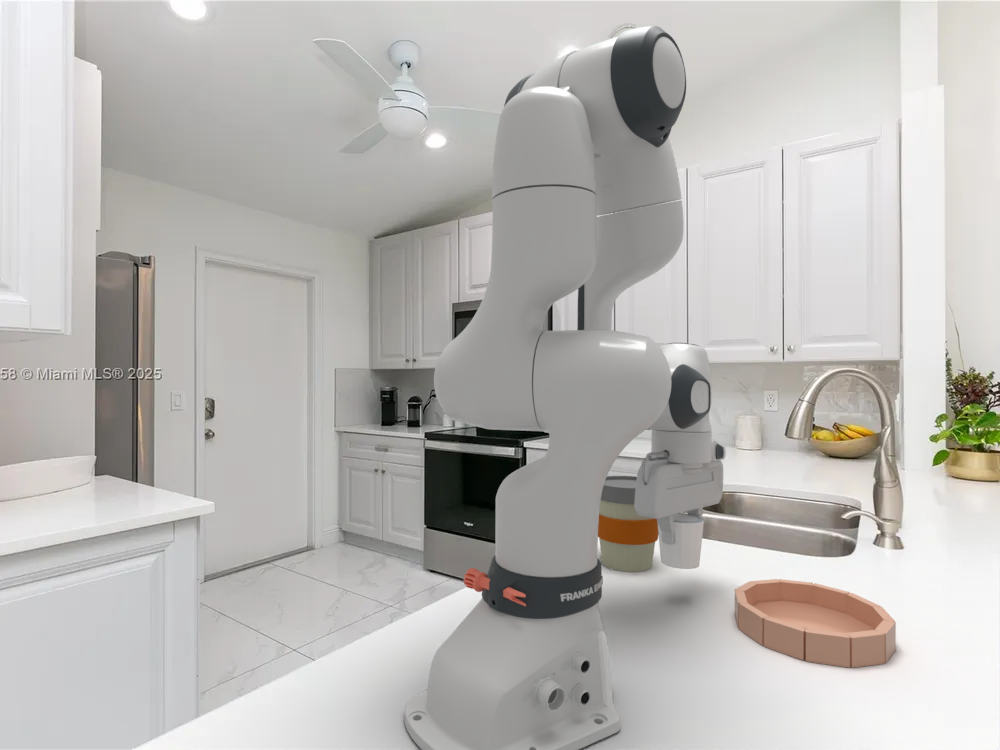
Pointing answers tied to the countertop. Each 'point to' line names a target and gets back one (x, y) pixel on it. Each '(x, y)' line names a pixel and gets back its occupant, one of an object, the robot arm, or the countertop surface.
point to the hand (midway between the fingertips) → (680, 539)
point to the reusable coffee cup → (624, 528)
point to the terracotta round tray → (815, 622)
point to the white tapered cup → (683, 542)
